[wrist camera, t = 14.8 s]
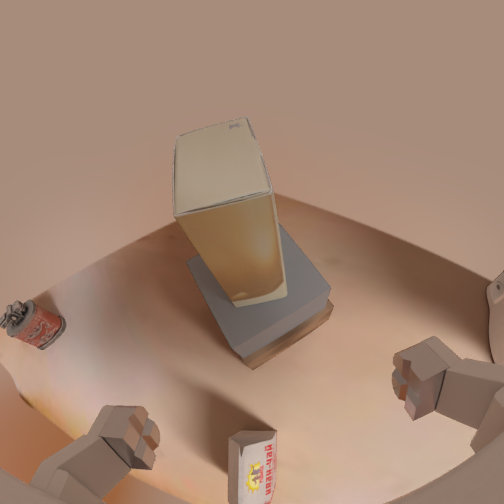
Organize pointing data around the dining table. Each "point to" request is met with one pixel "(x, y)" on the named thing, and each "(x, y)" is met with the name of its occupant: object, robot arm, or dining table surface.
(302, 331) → the tower base block
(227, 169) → the skincare box
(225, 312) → the tower top block
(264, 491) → the white red printed carton
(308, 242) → the dining table surface
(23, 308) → the lighter
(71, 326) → the dining table surface
